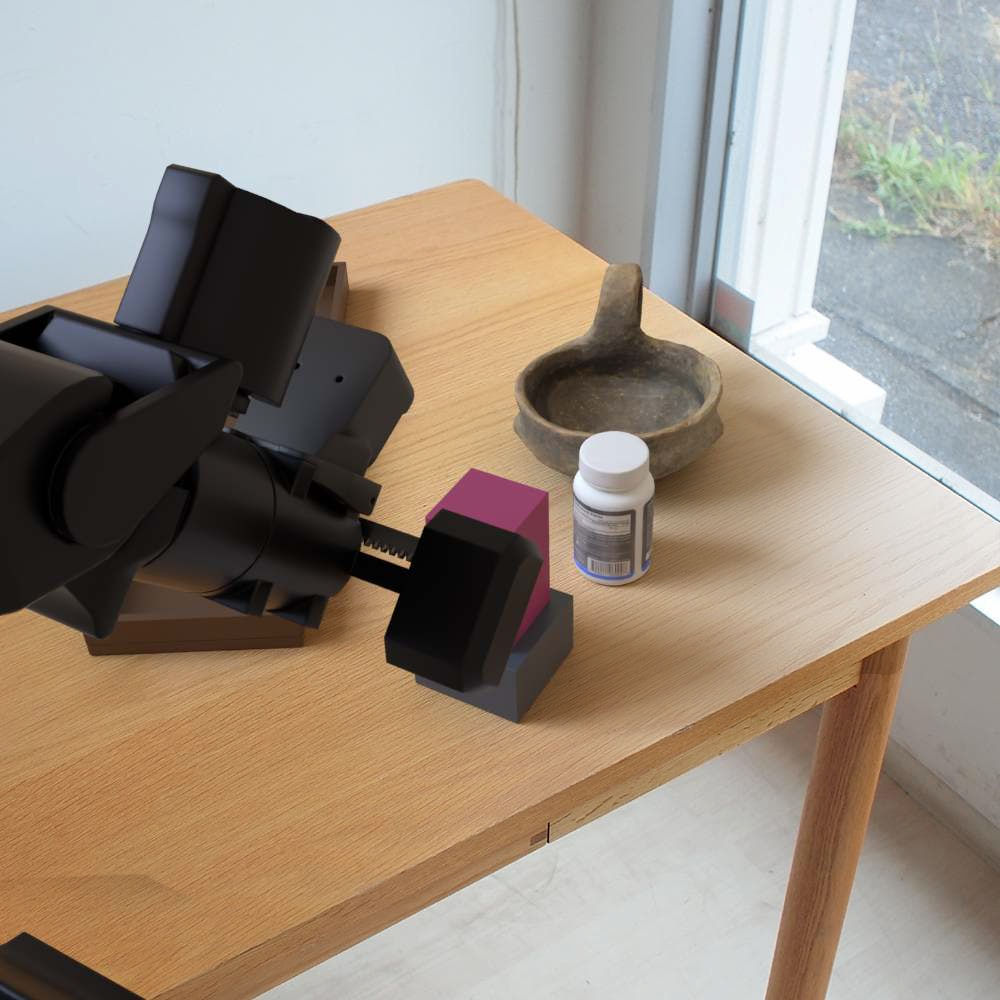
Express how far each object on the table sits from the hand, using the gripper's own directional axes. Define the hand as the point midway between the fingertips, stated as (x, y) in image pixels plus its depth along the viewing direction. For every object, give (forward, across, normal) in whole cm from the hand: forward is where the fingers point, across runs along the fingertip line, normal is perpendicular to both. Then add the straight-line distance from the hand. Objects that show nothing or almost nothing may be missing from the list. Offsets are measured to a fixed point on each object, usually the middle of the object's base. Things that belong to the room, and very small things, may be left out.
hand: (398, 574), depth 60 cm
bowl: (+30, +3, -13) cm, 33 cm away
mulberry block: (+12, 0, 0) cm, 12 cm away
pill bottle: (+23, -2, -5) cm, 23 cm away
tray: (+22, +26, -5) cm, 35 cm away
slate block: (+15, 0, +3) cm, 15 cm away
